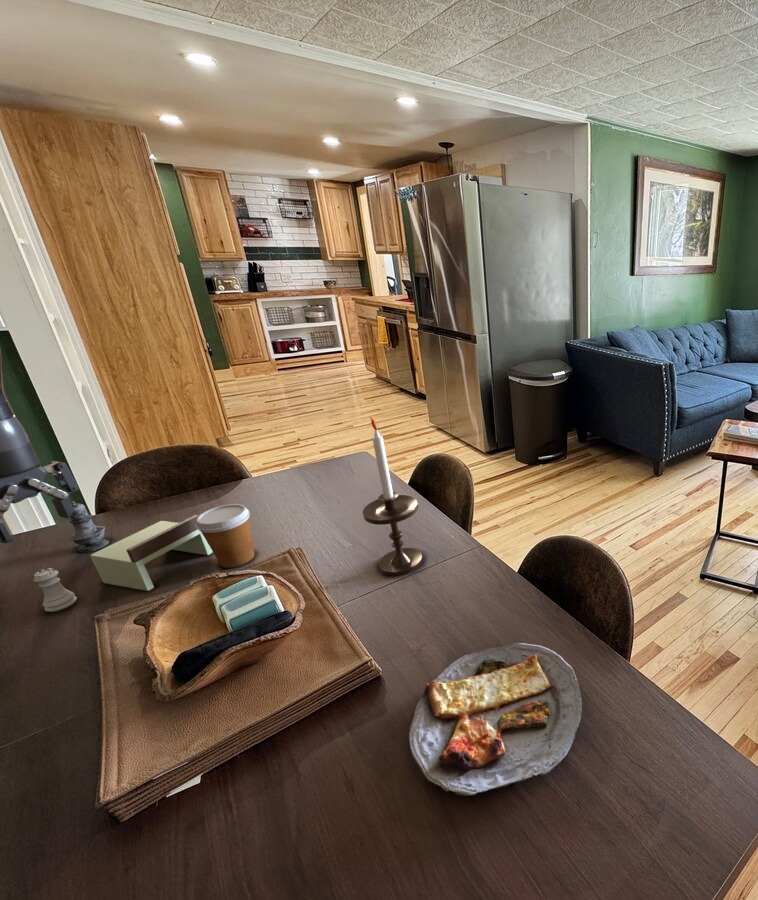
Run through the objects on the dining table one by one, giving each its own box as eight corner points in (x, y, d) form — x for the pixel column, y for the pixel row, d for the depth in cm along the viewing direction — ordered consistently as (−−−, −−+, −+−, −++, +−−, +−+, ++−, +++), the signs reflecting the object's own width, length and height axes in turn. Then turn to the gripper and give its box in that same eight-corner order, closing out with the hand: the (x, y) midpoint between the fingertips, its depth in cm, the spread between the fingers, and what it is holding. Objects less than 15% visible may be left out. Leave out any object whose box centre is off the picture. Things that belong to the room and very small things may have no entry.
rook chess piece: (46, 605, 93) (27, 571, 90) (78, 594, 96) (61, 561, 93) (44, 616, 90) (25, 582, 87) (77, 605, 93) (60, 572, 90)
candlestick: (404, 582, 100) (374, 427, 86) (363, 572, 103) (329, 421, 90) (436, 554, 110) (414, 410, 96) (398, 545, 113) (371, 405, 99)
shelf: (103, 583, 99) (83, 542, 96) (171, 545, 112) (156, 509, 108) (148, 591, 97) (129, 550, 93) (212, 552, 110) (199, 515, 106)
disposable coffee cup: (271, 553, 109) (257, 508, 105) (227, 577, 101) (210, 529, 97) (246, 543, 113) (231, 499, 108) (201, 565, 105) (183, 518, 100)
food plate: (403, 825, 58) (399, 807, 56) (416, 674, 78) (412, 658, 77) (599, 768, 64) (599, 750, 63) (563, 642, 85) (562, 627, 83)
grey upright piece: (69, 550, 110) (46, 505, 105) (99, 537, 115) (78, 493, 111) (87, 554, 109) (65, 509, 104) (117, 540, 114) (97, 496, 109)
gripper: (32, 429, 86) (69, 507, 92) (-87, 459, 73) (-35, 548, 79) (64, 432, 84) (99, 511, 91) (-50, 464, 71) (-1, 554, 78)
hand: (37, 528), depth 85 cm, fingers open, 8 cm apart
